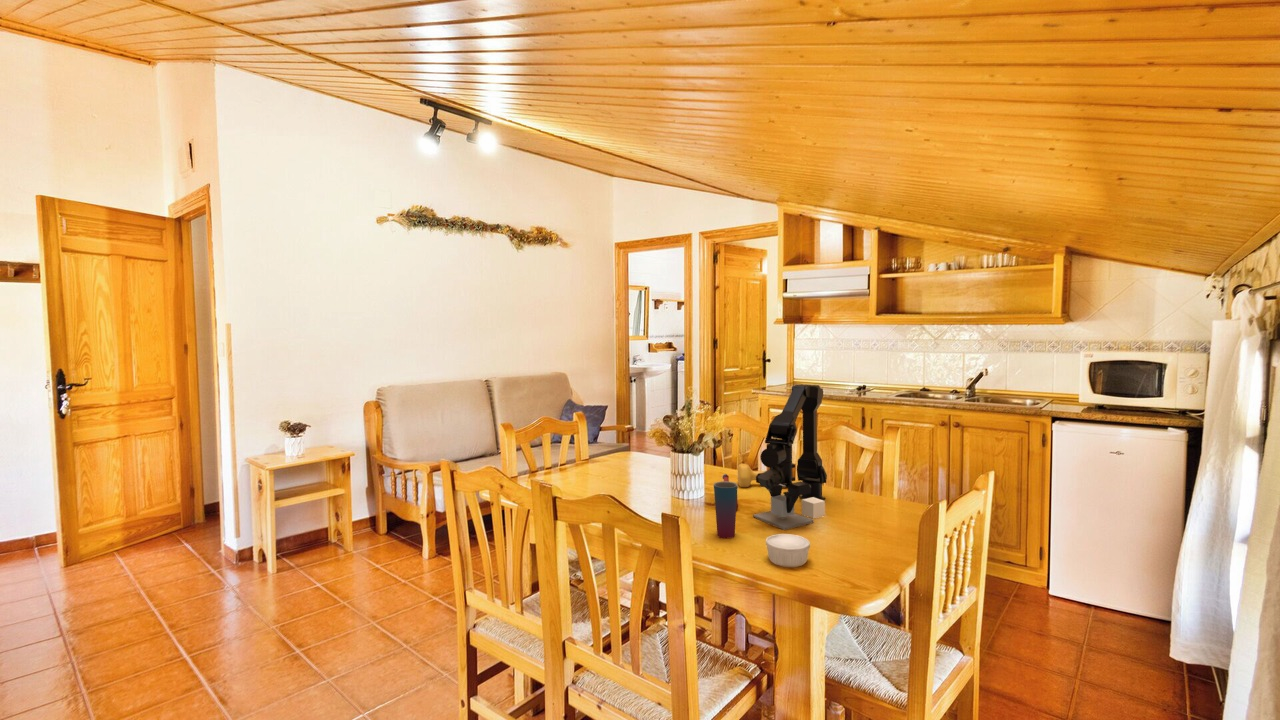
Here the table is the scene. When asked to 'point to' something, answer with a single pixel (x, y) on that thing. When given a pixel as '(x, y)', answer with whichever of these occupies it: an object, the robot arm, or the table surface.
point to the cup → (725, 508)
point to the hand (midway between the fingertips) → (782, 510)
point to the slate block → (780, 506)
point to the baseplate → (783, 520)
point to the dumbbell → (747, 475)
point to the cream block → (813, 507)
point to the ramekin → (787, 550)
